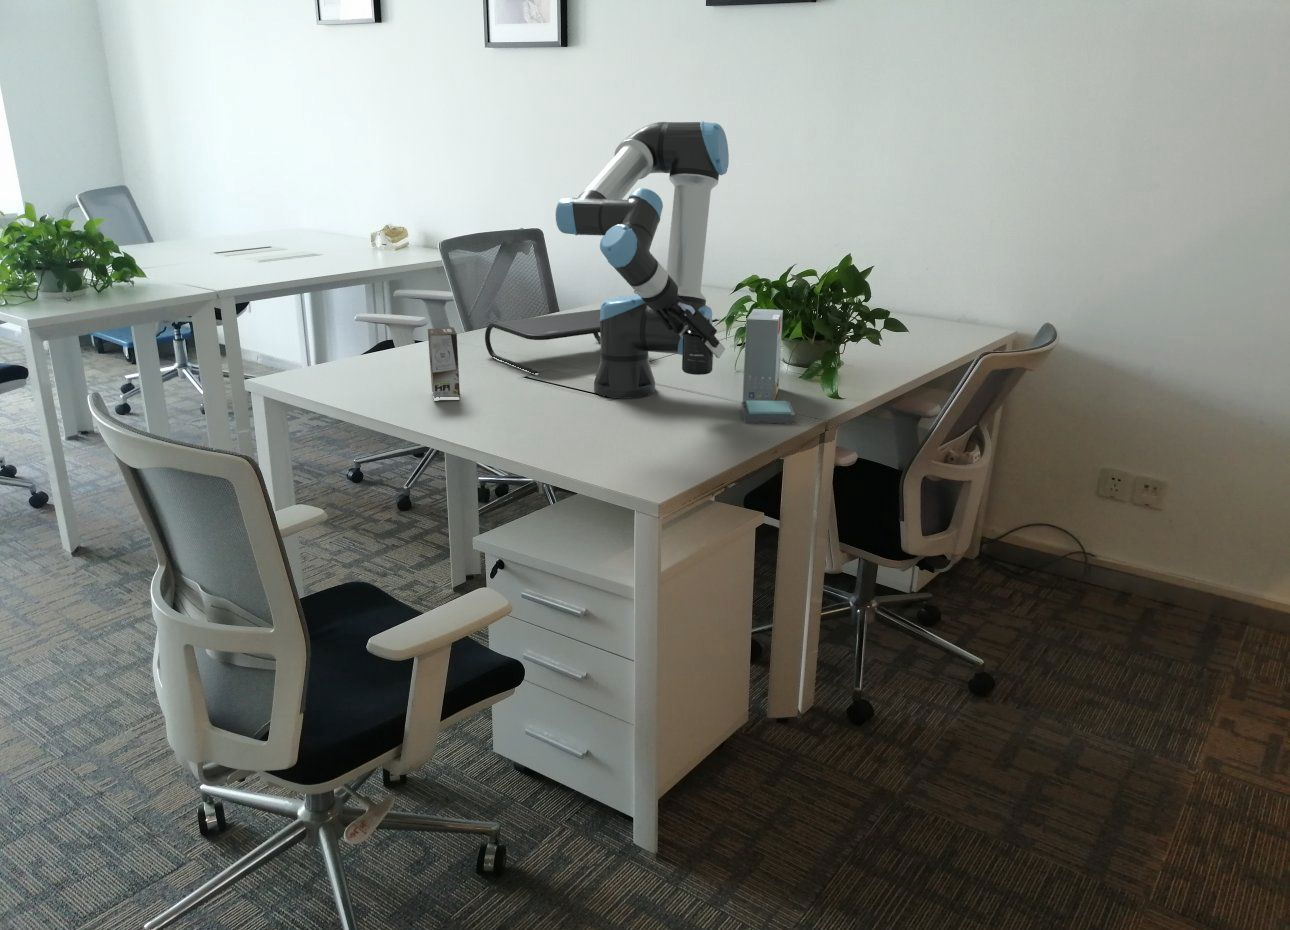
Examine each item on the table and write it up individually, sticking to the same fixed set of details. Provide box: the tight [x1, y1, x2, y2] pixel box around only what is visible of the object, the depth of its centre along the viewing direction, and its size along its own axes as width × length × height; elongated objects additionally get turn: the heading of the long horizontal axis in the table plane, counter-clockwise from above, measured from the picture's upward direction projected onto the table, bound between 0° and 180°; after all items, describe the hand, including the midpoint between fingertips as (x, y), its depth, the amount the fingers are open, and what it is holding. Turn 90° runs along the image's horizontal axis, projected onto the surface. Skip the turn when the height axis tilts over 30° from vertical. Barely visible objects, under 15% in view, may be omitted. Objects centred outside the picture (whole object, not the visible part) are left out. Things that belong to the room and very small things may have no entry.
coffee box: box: [427, 326, 461, 399], centre depth 246 cm, size 9×6×16 cm
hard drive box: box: [742, 308, 784, 402], centre depth 247 cm, size 16×8×20 cm, turn 168°
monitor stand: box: [484, 308, 650, 374], centre depth 287 cm, size 37×28×11 cm
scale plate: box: [745, 400, 791, 414], centre depth 232 cm, size 9×9×1 cm
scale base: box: [741, 401, 796, 425], centre depth 232 cm, size 11×11×2 cm
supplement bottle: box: [681, 317, 714, 376], centre depth 227 cm, size 7×7×12 cm
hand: (709, 350), depth 230 cm, fingers closed on supplement bottle, 7 cm apart
